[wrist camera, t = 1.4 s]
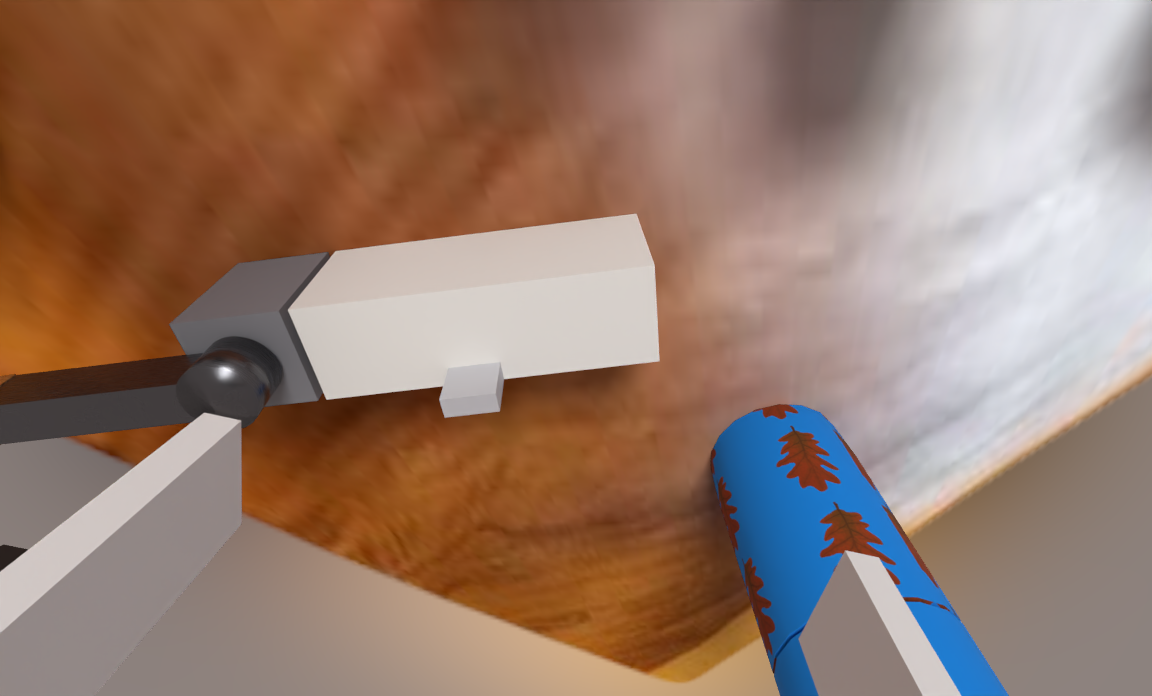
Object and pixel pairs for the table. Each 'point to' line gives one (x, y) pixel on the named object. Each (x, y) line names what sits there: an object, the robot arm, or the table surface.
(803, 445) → the thermos
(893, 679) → the robot arm
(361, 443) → the table surface
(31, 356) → the table surface
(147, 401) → the bar
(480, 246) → the white box with knob
